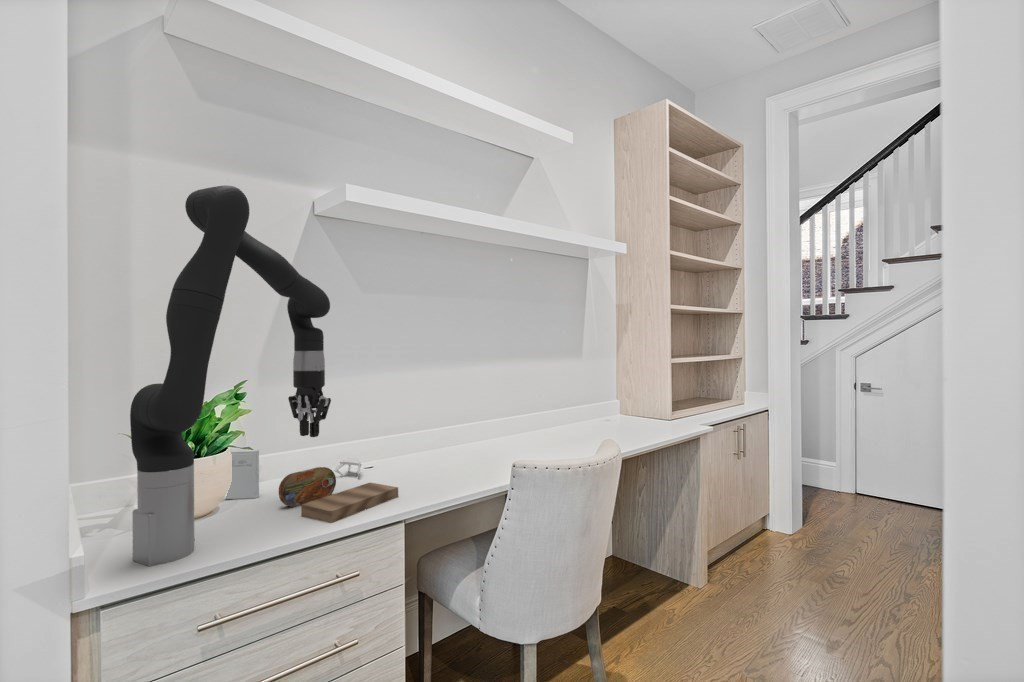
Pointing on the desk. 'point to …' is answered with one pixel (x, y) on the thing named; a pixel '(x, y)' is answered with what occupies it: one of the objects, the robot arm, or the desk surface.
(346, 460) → the origami figure
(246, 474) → the external hard drive
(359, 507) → the walnut riser
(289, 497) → the tin
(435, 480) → the desk surface
